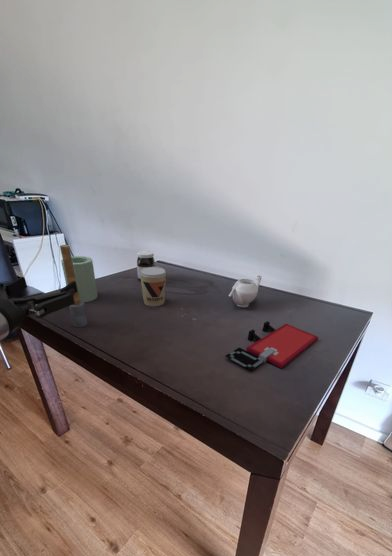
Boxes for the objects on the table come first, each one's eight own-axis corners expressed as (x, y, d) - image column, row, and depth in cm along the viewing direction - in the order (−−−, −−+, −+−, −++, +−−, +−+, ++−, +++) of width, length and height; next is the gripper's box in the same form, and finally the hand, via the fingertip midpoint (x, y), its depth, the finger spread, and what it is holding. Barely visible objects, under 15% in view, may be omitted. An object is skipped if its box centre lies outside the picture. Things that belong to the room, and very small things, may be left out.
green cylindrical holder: (63, 300, 104) (55, 262, 97) (78, 290, 113) (71, 255, 105) (89, 303, 103) (82, 265, 95) (102, 293, 111) (97, 257, 104)
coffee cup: (143, 308, 102) (141, 275, 95) (140, 298, 109) (138, 267, 103) (168, 306, 104) (168, 274, 98) (164, 296, 112) (163, 266, 105)
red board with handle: (219, 355, 77) (266, 382, 69) (220, 347, 76) (268, 373, 68) (275, 323, 96) (317, 340, 88) (276, 315, 95) (319, 333, 87)
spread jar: (139, 275, 132) (137, 249, 125) (163, 276, 132) (163, 250, 126) (136, 284, 122) (134, 256, 115) (162, 285, 122) (162, 257, 116)
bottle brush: (70, 326, 88) (52, 246, 75) (77, 320, 92) (61, 243, 79) (83, 328, 88) (67, 248, 75) (90, 321, 91) (76, 244, 78)
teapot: (216, 308, 104) (218, 284, 99) (246, 294, 117) (250, 272, 112) (238, 316, 99) (241, 291, 94) (267, 301, 112) (271, 278, 107)
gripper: (-60, 332, 58) (8, 293, 76) (57, 343, 57) (98, 301, 75) (-77, 298, 54) (-2, 266, 72) (49, 309, 53) (94, 273, 71)
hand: (49, 284), depth 73 cm, fingers open, 13 cm apart
